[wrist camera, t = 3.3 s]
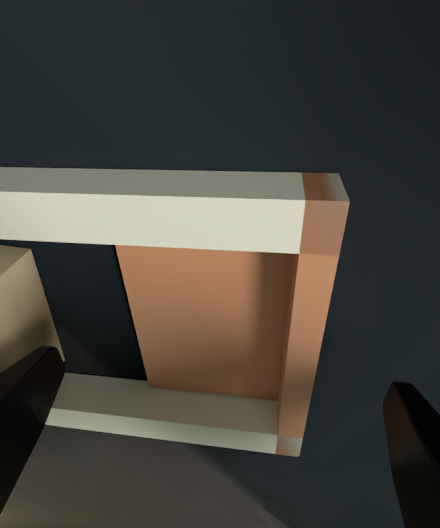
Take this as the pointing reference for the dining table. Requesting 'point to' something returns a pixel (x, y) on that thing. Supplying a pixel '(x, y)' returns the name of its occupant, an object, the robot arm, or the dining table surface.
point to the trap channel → (198, 294)
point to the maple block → (22, 308)
